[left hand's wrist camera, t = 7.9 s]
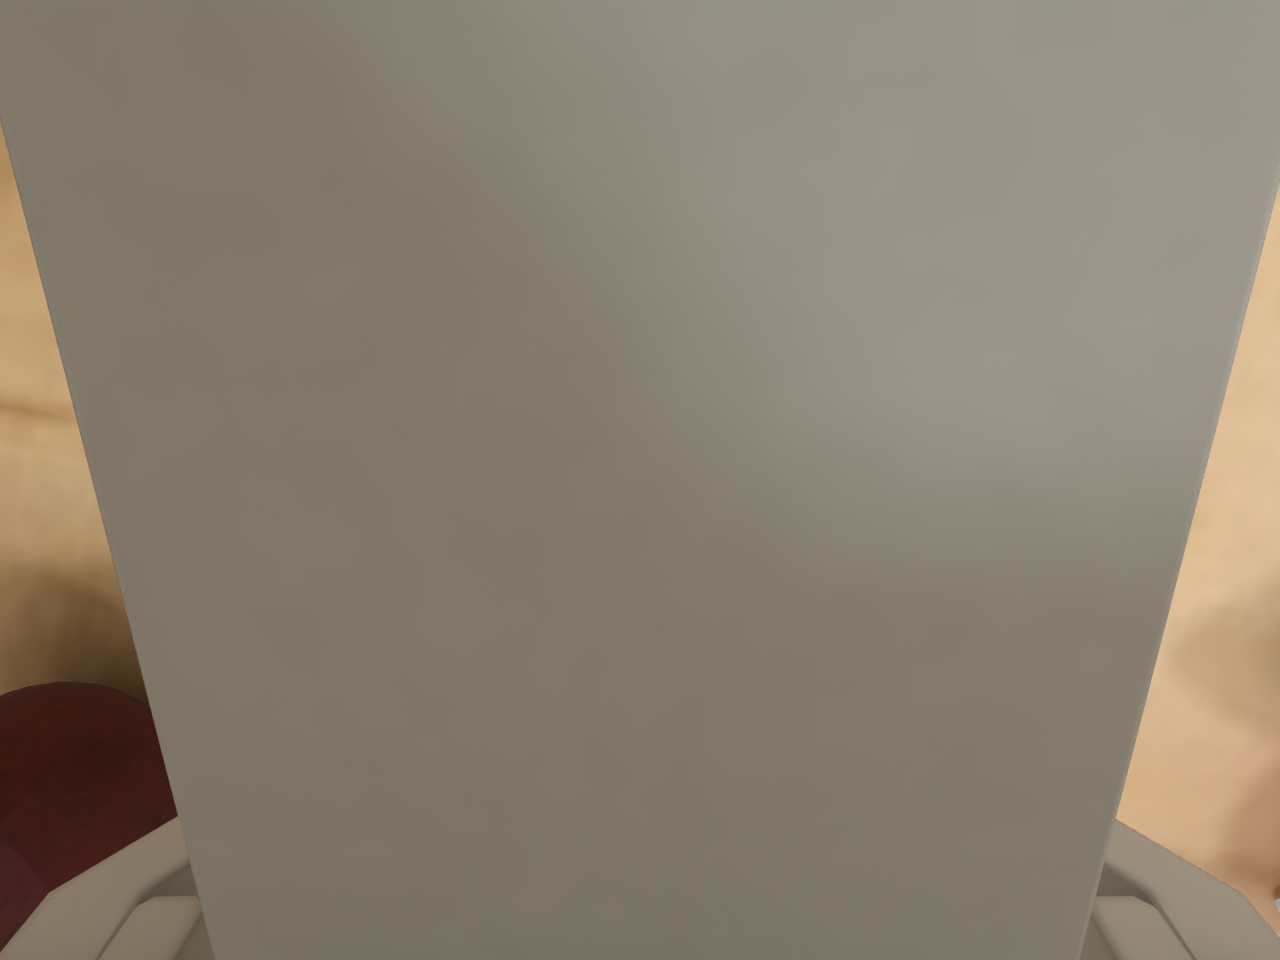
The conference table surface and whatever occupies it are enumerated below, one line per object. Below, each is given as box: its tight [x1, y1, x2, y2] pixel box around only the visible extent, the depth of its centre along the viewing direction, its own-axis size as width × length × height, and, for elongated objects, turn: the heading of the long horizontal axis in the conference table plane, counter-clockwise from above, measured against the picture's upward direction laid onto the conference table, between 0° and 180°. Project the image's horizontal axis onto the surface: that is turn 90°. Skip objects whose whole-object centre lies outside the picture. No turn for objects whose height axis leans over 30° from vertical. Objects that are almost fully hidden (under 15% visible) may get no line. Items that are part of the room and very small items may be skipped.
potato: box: [0, 682, 178, 952], centre depth 20 cm, size 7×8×7 cm
